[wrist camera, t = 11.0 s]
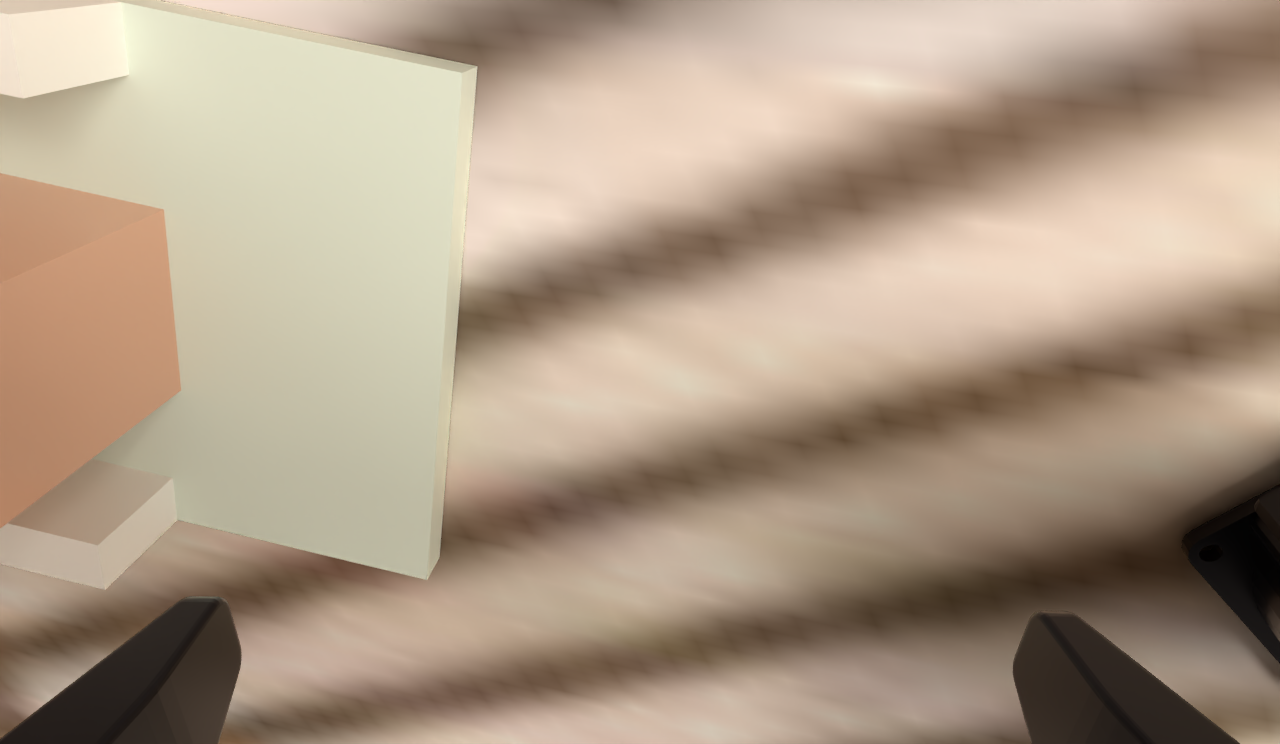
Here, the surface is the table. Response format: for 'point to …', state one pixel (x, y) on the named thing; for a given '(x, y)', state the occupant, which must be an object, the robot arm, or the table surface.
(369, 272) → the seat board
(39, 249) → the tall peach block
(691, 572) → the table surface
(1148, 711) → the robot arm
